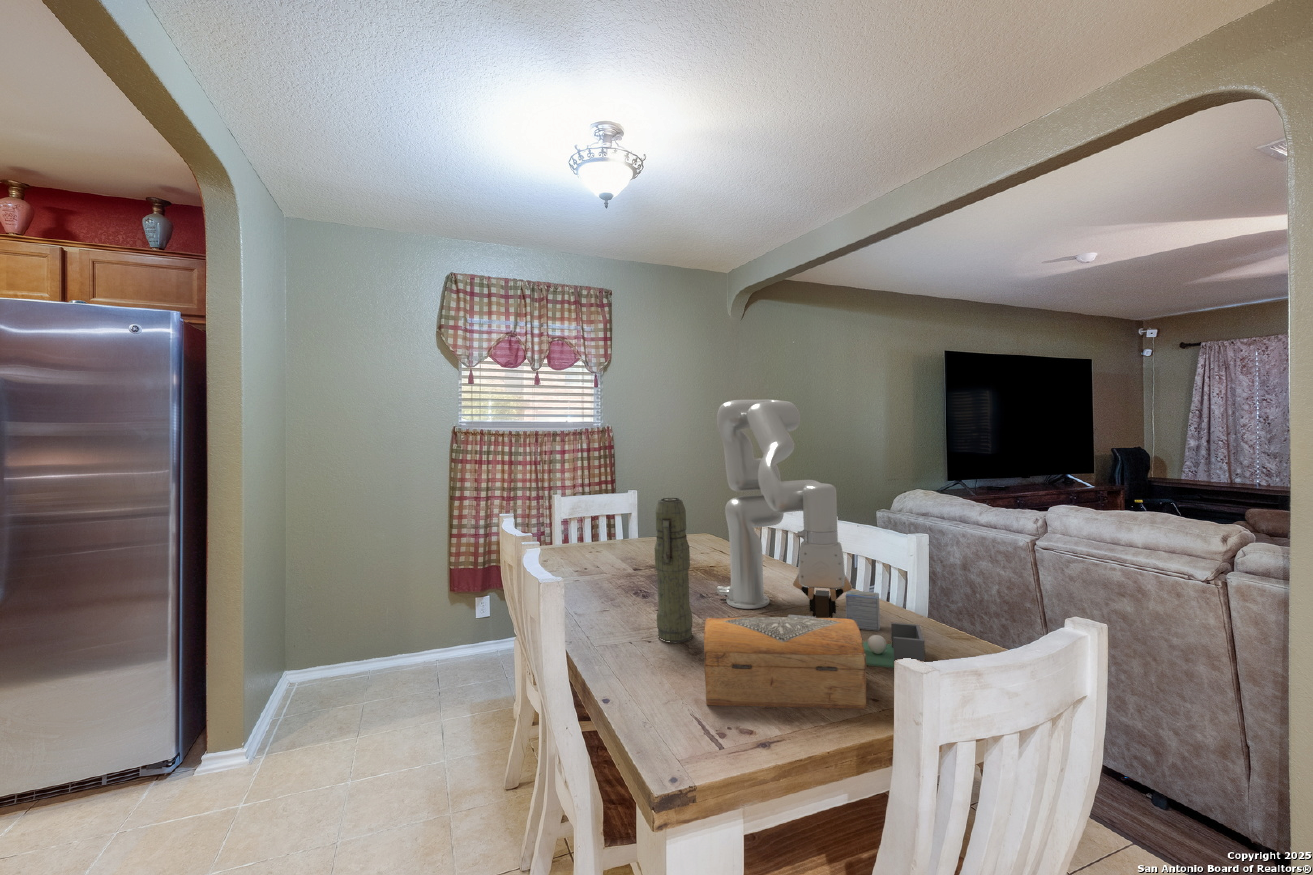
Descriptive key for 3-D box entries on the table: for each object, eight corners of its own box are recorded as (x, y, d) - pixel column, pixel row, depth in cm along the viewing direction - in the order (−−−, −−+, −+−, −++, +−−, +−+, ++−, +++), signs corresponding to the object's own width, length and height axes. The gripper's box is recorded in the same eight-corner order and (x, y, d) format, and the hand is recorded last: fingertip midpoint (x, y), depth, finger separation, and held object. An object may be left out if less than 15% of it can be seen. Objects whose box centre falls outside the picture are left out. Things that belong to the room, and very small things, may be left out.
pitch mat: (850, 663, 121) (850, 661, 121) (850, 642, 133) (850, 640, 133) (920, 670, 117) (920, 668, 117) (914, 648, 128) (914, 646, 128)
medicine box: (880, 625, 142) (879, 592, 142) (879, 631, 138) (878, 597, 138) (848, 622, 146) (847, 589, 145) (846, 628, 142) (845, 594, 141)
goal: (894, 665, 119) (893, 638, 119) (891, 647, 128) (890, 622, 128) (925, 668, 117) (924, 640, 117) (920, 650, 126) (919, 624, 126)
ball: (868, 655, 124) (867, 638, 124) (867, 648, 128) (867, 631, 128) (887, 657, 123) (886, 639, 122) (886, 650, 126) (885, 633, 126)
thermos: (694, 627, 145) (689, 495, 145) (690, 646, 134) (685, 502, 133) (661, 627, 147) (656, 496, 146) (654, 645, 135) (648, 502, 134)
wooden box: (849, 671, 118) (847, 607, 118) (868, 712, 102) (866, 637, 101) (708, 668, 122) (706, 606, 122) (705, 707, 106) (702, 635, 105)
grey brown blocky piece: (787, 645, 130) (786, 593, 129) (789, 638, 134) (788, 587, 133) (854, 652, 125) (853, 598, 124) (854, 644, 129) (853, 592, 128)
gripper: (782, 539, 128) (785, 617, 128) (858, 541, 122) (860, 624, 122) (786, 532, 135) (788, 607, 135) (858, 534, 129) (860, 612, 130)
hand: (822, 614), depth 129 cm, fingers closed on grey brown blocky piece, 3 cm apart
